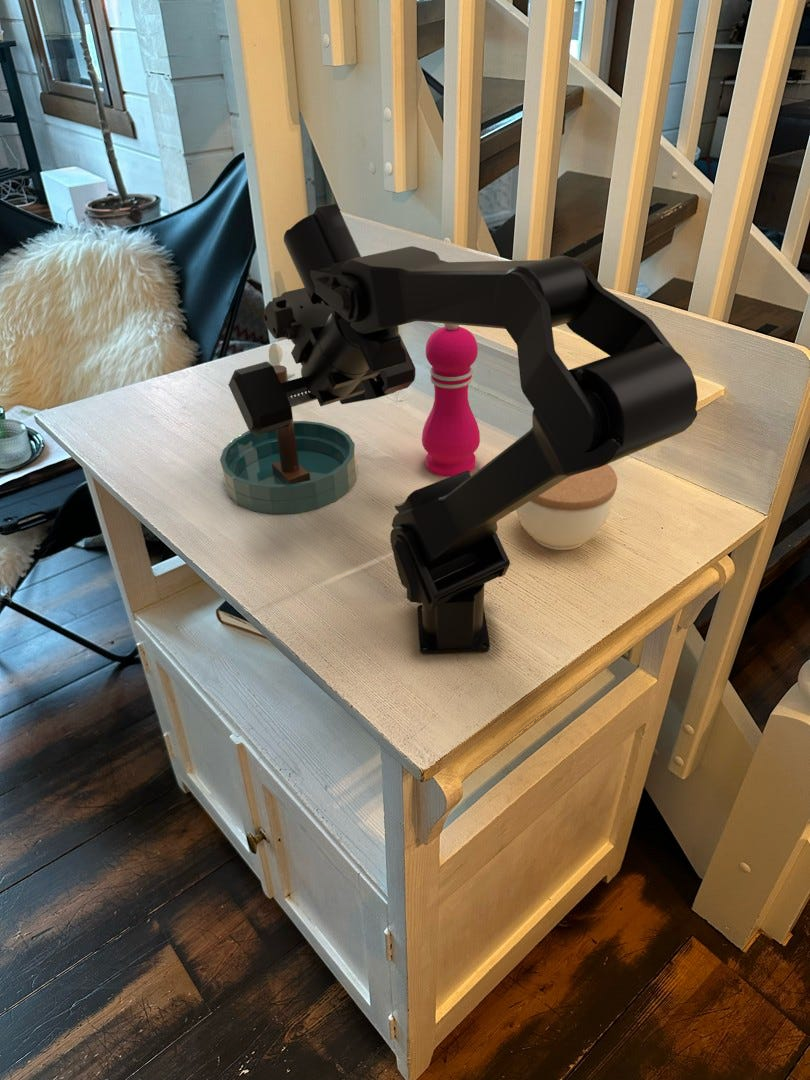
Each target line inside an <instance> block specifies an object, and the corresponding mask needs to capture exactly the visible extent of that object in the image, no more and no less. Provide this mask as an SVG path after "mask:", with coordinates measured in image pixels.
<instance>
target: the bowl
mask: <svg viewBox="0 0 810 1080" xmlns="http://www.w3.org/2000/svg"><path fill="white" fill-rule="evenodd" d="M293 423H294V430H295V438H296V446H297V454H298V462H299V464H300V465H301V466H302V467H303V468H305V469H306V470H307V471H308V472H309V474H310V480H309V481H304V482H299V483H294V484H284V483H283V482H282V481H281V480H280V479H279V478H278V477H277V476H276V475H275V474H274V473H273V469H272V463H275V462H278V461H280V456H279V449H278V442H277V435H276V430H275V431H272V432H269V433H264V434H261V435H258V436H257V435H255V434H253V433H251V432H249V430H247V431H245V432H243V433H242V434H240V435H238V436H237V437H235V438H233V439H232V440H231V441H230V442H229V443H227V444H226V446H225V447H224V448H223V450H222V452H221V455H220V459H219V462H220V468H221V473H222V477H223V483H224V487H225V491H226V493H227V496H228V497H229V498H230V499H231V500H232V501H233V502H234V503H235V504H236V505H238V506H240V507H243V508H245V509H247V510H249V511H252V512H257V513H263V514H269V515H283V514H284V515H286V514H287V515H288V514H299V513H303V512H304V513H305V512H309V511H314V510H319V509H320V508H323V507H325V506H328V505H330V504H332V503H334V502H337V501H338V500H340V499H341V498H342V497H344V496H345V495H346V494H347V493H349V492H350V491H351V489H352V488H353V486H354V485H355V483H356V481H357V472H358V467H357V457H356V456H357V455H356V444H355V442H354V440H353V439H352V438H351V436H350V434H348V433H346V432H345V431H343V430H342V429H341V428H339V427H337V426H333V425H330V424H326V423H323V422H319V421H309V420H308V421H307V420H293Z"/></svg>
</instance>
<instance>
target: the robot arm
mask: <svg viewBox="0 0 810 1080" xmlns="http://www.w3.org/2000/svg"><path fill="white" fill-rule="evenodd" d="M283 243H284V245H285V247H286V250H287V252H288V254H289V256H290V259H291V261H292V263H293V265H294V267H295V270H296V272H297V273H298V276H299V279H300V280H301V283H302V285H303V287H301V288H297V289H293V290H288V291H285V292H282V293H281V295H280V296H276V297H272V300H271V301H268V303H267V304H266V306H265V307H264V308H263V309H264V310H263V323H264V325H265V327H266V328H267V330H268V331H269V333H270V334H271V336H272V337H273V338H274V339H275V340H277V339H281V338H285V339H287V340H288V341H291V342H292V344H293V345H294V346H293V348H292V350H291V352H290V354H291V357H292V358H293V361H294V362H295V364H300V365H301V368H300V375H301V376H300V377H298V378H294V379H291V380H290V379H289V380H288V381H287V382H283V383H280V381H279V379H278V376H277V374H276V372H275V370H274V368H273V366H272V365H271V364H270V363H268V362H265V361H263V362H259V363H256V364H252V365H249V366H244V367H242V368H237V369H234V371H233V374H232V376H231V378H230V380H229V383H228V387H229V389H230V392H231V394H232V396H233V399H234V401H235V403H236V405H237V408H238V409H239V411H240V414H241V416H242V418H243V420H244V422H245V425H246V427H247V429H248V431H249V432H251V433H253V434H255V435H257V436H258V435H261V434H264V433H269V432H272V431H275V430H279V429H282V428H285V427H288V426H289V423H290V422H291V421H292V419H293V420H294V416H292V415H293V409H292V408H294V407H297V406H299V405H300V406H301V405H303V404H307V403H310V402H314V401H317V402H318V404H319V406H320V407H324V406H326V405H330V404H333V403H337V402H339V403H340V404H341V405H347V404H353V403H357V402H363V401H369V400H375V399H378V398H382V397H385V396H388V395H391V394H394V393H396V392H398V391H403V390H405V389H407V388H409V387H410V386H411V385H412V383H413V382H415V379H416V366H415V364H414V362H413V360H412V357H411V356H410V354H409V351H408V349H407V347H406V345H405V343H404V341H403V338H402V336H401V334H400V333H399V326H402V325H406V324H410V323H413V322H425V323H435V324H444V323H445V324H456V325H459V326H469V327H479V328H480V327H481V328H492V329H503V330H506V332H507V333H508V334H509V336H510V338H511V339H512V340H513V342H514V343H515V345H516V350H517V361H518V371H519V381H520V388H521V391H522V393H523V395H524V396H525V398H526V399H527V400H528V402H529V404H530V405H531V406H532V408H533V409H532V413H531V414H532V420H531V421H532V427H531V428H530V429H529V430H528V431H527V432H526V433H524V434H523V435H522V436H521V437H519V438H518V439H517V440H515V441H514V442H513V443H511V444H510V445H509V446H508V447H507V448H505V449H504V450H503V451H501V452H500V453H499V454H497V455H496V456H495V457H493V458H492V459H491V460H490V461H489V462H487V463H486V464H484V466H482V467H481V468H480V469H478V470H477V471H476V472H475V473H473V474H472V475H471V472H469V470H467V471H464V472H462V473H459V474H456V475H454V476H451V477H446V478H444V479H440V480H439V481H435V482H434V483H430V484H428V485H425V486H423V487H421V488H418V489H415V490H413V491H412V492H411V493H410V494H409V495H408V496H407V497H406V499H405V500H404V501H403V502H400V503H397V504H395V505H394V509H395V510H396V512H397V513H396V514H395V515H394V516H393V518H392V520H391V521H392V522H391V528H392V529H391V531H390V535H389V537H390V538H389V541H390V546H391V549H392V554H393V557H394V558H393V559H394V562H395V567H396V570H397V574H398V579H399V581H400V584H401V585H402V586H403V587H404V588H405V589H406V599H407V600H408V601H409V602H410V603H417V604H419V605H418V606H417V608H416V609H417V610H416V612H417V627H418V629H417V630H418V631H417V632H418V645H419V646H418V647H419V653H420V654H422V655H444V654H445V655H446V654H469V653H470V654H471V653H472V654H473V653H487V652H489V651H490V650H491V643H490V635H489V629H488V625H487V618H486V612H485V606H484V605H485V585H486V584H487V583H488V582H491V581H493V580H495V579H497V578H502V577H503V576H504V577H505V575H506V574H507V571H508V570H509V567H510V565H511V560H510V558H509V556H508V555H507V552H506V550H505V548H504V546H503V544H502V542H501V539H500V537H499V536H498V534H497V532H498V524H497V522H499V520H502V519H504V518H505V517H507V516H508V515H510V514H511V513H513V512H514V511H516V509H518V508H519V507H521V506H523V505H524V504H526V503H527V502H529V501H531V500H532V499H534V498H536V497H537V496H539V495H540V494H542V493H544V492H545V491H547V490H548V489H550V488H552V487H553V486H555V485H557V484H558V483H560V482H561V481H563V480H565V479H566V478H568V477H570V476H572V475H575V474H579V473H582V472H585V471H589V470H592V469H596V468H599V467H602V466H604V465H606V464H608V465H610V464H611V463H613V462H616V461H618V460H620V459H623V458H625V457H627V456H630V455H632V454H635V453H636V452H639V451H641V450H643V449H646V448H648V447H650V446H653V445H656V444H658V443H660V442H662V441H665V440H667V439H670V438H672V437H674V436H677V435H679V434H681V433H683V432H685V431H686V430H687V429H688V428H689V427H690V426H692V425H693V423H694V422H695V420H696V419H697V417H698V411H697V404H698V399H699V398H698V397H699V396H698V388H697V382H696V380H695V376H694V373H693V372H692V368H691V367H690V365H689V364H688V363H687V361H686V360H685V358H684V357H683V355H681V354H680V353H678V352H677V351H676V349H675V348H674V347H673V345H672V344H671V343H670V342H669V340H668V339H667V338H666V337H665V336H664V335H665V334H663V332H662V331H661V330H660V328H659V327H658V326H657V325H656V323H655V322H654V321H653V320H652V319H651V318H650V317H649V315H646V314H644V312H642V311H640V310H639V309H637V308H635V307H634V306H632V305H631V304H630V303H627V302H626V301H624V300H623V299H621V298H620V297H619V296H617V295H615V294H614V293H612V292H611V291H609V290H607V289H606V288H604V287H603V286H602V285H601V283H600V282H599V281H598V279H597V277H595V275H594V274H593V273H592V271H591V270H590V269H589V268H588V266H587V265H586V264H585V263H584V262H583V261H582V260H580V259H578V258H575V257H571V256H568V255H564V254H563V255H557V256H553V257H549V258H545V259H535V260H534V259H531V260H488V261H487V260H485V261H480V260H479V261H446V260H442V259H441V258H440V256H439V255H438V253H437V252H435V251H431V250H428V249H425V248H421V247H417V246H411V245H410V246H406V247H400V248H396V249H391V250H387V251H382V252H377V253H373V254H368V255H364V256H362V255H361V253H360V251H359V249H358V247H357V244H356V242H355V240H354V238H353V236H352V234H351V231H350V229H349V227H348V225H347V223H346V220H345V219H344V217H343V214H342V212H341V210H340V208H339V206H338V203H331V204H330V203H329V204H325V205H318V206H315V209H314V210H313V213H311V214H309V215H308V216H306V217H303V218H302V219H300V220H299V221H297V222H296V223H294V225H293V226H292V227H290V228H289V229H287V230H286V231H285V233H284V234H283ZM564 324H565V325H566V326H567V327H568V329H569V330H570V331H572V332H573V333H574V334H575V335H577V336H579V337H580V338H582V339H583V340H585V341H586V342H588V343H589V344H591V345H592V346H594V347H595V348H597V349H599V350H600V351H602V352H603V353H605V354H606V355H608V356H606V357H603V358H600V359H597V360H594V361H591V362H588V363H586V364H582V365H579V366H576V367H573V368H570V369H568V367H567V366H566V364H565V362H563V360H562V359H561V358H560V356H559V354H558V353H557V351H556V348H555V340H554V333H553V328H556V327H558V326H562V325H564ZM287 397H288V398H287ZM291 407H292V408H291Z"/></svg>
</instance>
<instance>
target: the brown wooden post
mask: <svg viewBox="0 0 810 1080" xmlns="http://www.w3.org/2000/svg"><path fill="white" fill-rule="evenodd" d="M273 368H274V370H275V372H276V374H277V376H278V379H279V381H280V383H283V382H287V381H289V379H288V376H287V374H288V369H287V367H286V366H285V365H281V364H280V365H277V366H273ZM287 398H288V397H287ZM291 408H293V407H291ZM293 415H294V414H292V416H293ZM293 417H294V416H293ZM293 421H294V418H293V419H292V421H291V422H290V423H289V426H288V427H285V428H282V429H279V430H276V435H277V442H278V449H279V456H280V461H278V462H275V463H272V469H273V473H274V474H275V475H276V476H277V477H278V478H279V479H280V480H281V481H282V482H283V483H284V484H294V483H299V482H304V481H309V480H310V474H309V472H308V471H307V470H306V469H305V468H303V467H302V466H301V465H300V464H299V462H298V454H297V446H296V438H295V430H294V423H293Z"/></svg>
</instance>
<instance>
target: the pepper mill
mask: <svg viewBox="0 0 810 1080" xmlns="http://www.w3.org/2000/svg"><path fill="white" fill-rule="evenodd" d="M443 325H444V326H442V327H440V328H437V329H436V330H434V331H433V332H432V333H431V334H430V335H429V337H428V338H427V341H426V345H425V357H426V360H427V362H428V363H429V365H430V366H431V368H430V370H429V373H430V377H429V380H430V382H431V384H433V388H434V401H433V404H432V407H431V410H430V412H429V415H428V416H427V418H426V420H425V422H424V425H423V428H422V433H421V445H422V447H423V449H424V450H425V452H426V453H427V454H426V456H425V466H426V468H427V470H428V472H430V473H432V474H434V475H437V476H441V477H446V478H449V477H451V476H454V475H456V474H459V473H462V472H464V471H467V470H469V473H471V472H472V471H473V470H474V469H475V467H476V454H475V452H476V451H477V450H478V448H479V447H480V444H481V434H480V429H479V424H478V422H477V419H476V417H475V415H474V413H473V411H472V408H471V406H470V402H469V394H468V393H469V385H470V384H472V382H473V380H474V379H473V378H474V377H473V373H474V369H473V367H472V365H473V364H474V363H475V362H476V360H477V357H478V352H479V349H478V348H479V347H478V343H477V339H476V338H475V336H474V335H473V333H472V332H471V331H470V330H469V329H467V328H465V327H463V326H460V325H456V324H445V323H443Z"/></svg>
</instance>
